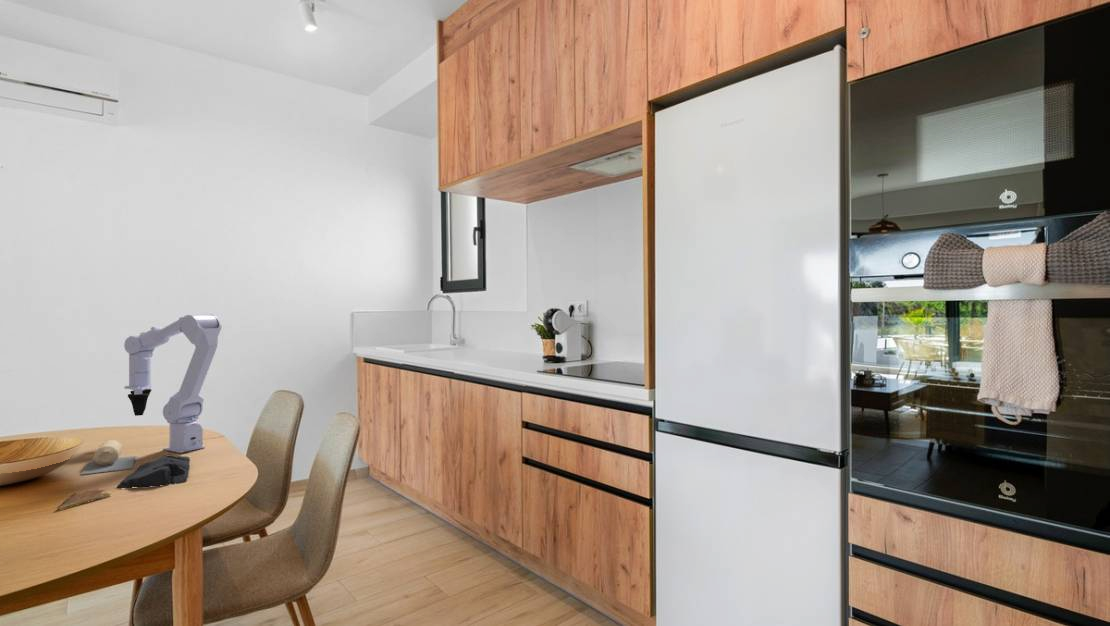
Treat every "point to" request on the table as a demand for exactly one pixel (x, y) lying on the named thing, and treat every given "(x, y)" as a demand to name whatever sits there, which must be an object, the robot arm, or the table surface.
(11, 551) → the table surface
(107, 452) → the candle
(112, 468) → the slate mat
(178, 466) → the dark slate chunk
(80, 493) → the shard
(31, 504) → the table surface
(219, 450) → the table surface
